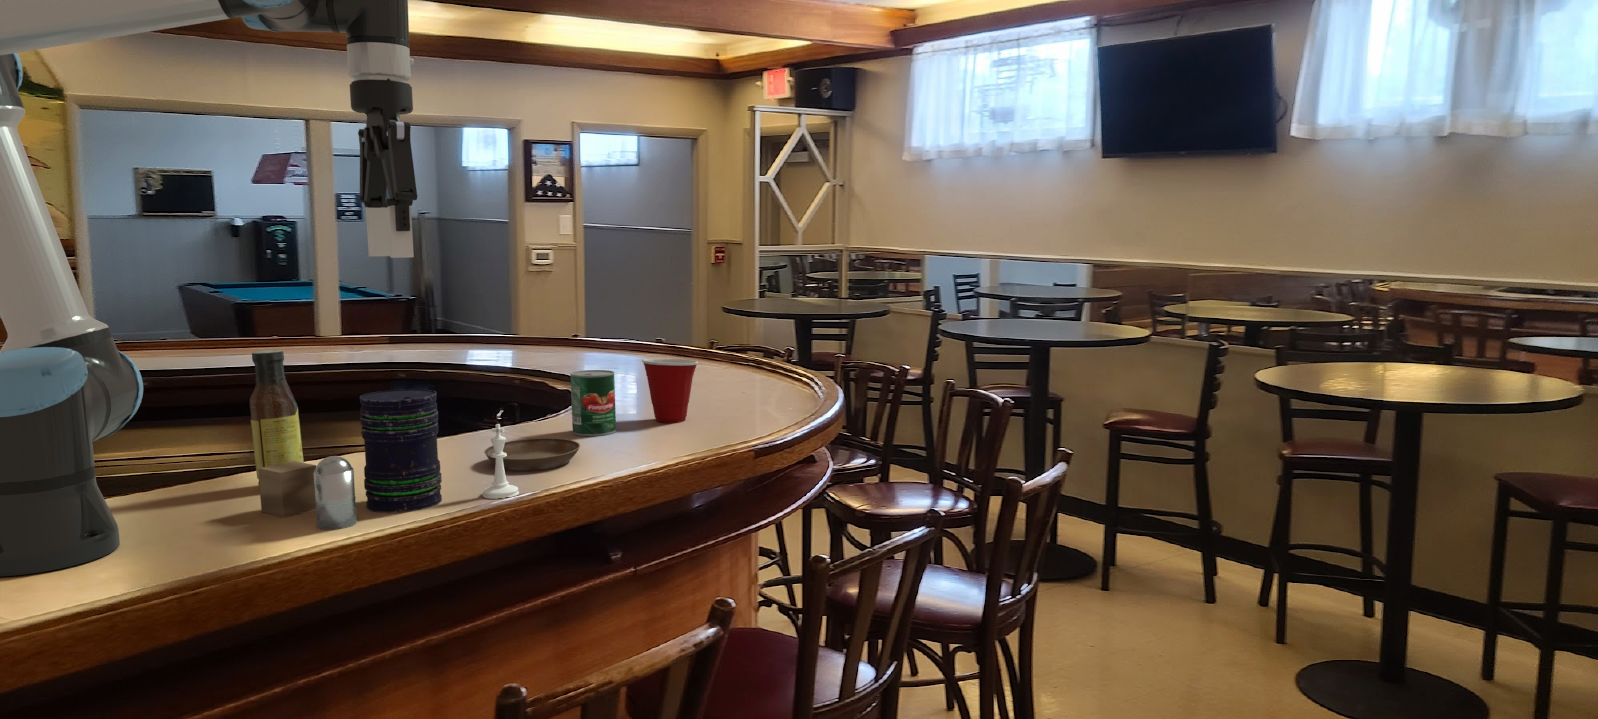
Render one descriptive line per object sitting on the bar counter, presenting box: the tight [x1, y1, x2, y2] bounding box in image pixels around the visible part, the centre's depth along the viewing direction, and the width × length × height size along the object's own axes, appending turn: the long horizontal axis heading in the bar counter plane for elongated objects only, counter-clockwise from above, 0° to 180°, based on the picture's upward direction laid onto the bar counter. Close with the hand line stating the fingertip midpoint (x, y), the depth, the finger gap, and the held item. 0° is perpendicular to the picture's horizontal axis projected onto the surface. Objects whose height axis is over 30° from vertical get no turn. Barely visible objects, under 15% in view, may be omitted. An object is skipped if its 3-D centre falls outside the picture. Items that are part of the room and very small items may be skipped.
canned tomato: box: [569, 369, 617, 437], centre depth 189 cm, size 8×8×11 cm
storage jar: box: [359, 388, 443, 514], centre depth 141 cm, size 10×10×15 cm
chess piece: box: [482, 423, 520, 500], centre depth 145 cm, size 5×5×10 cm
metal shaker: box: [313, 455, 358, 531], centre depth 131 cm, size 5×5×9 cm
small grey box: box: [258, 461, 317, 519], centre depth 138 cm, size 5×5×6 cm
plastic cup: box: [641, 358, 699, 424], centre depth 200 cm, size 11×11×12 cm
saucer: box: [483, 437, 581, 472], centre depth 166 cm, size 15×15×3 cm
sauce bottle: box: [249, 349, 305, 488], centre depth 150 cm, size 7×6×20 cm
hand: (390, 256), depth 138 cm, fingers open, 9 cm apart
